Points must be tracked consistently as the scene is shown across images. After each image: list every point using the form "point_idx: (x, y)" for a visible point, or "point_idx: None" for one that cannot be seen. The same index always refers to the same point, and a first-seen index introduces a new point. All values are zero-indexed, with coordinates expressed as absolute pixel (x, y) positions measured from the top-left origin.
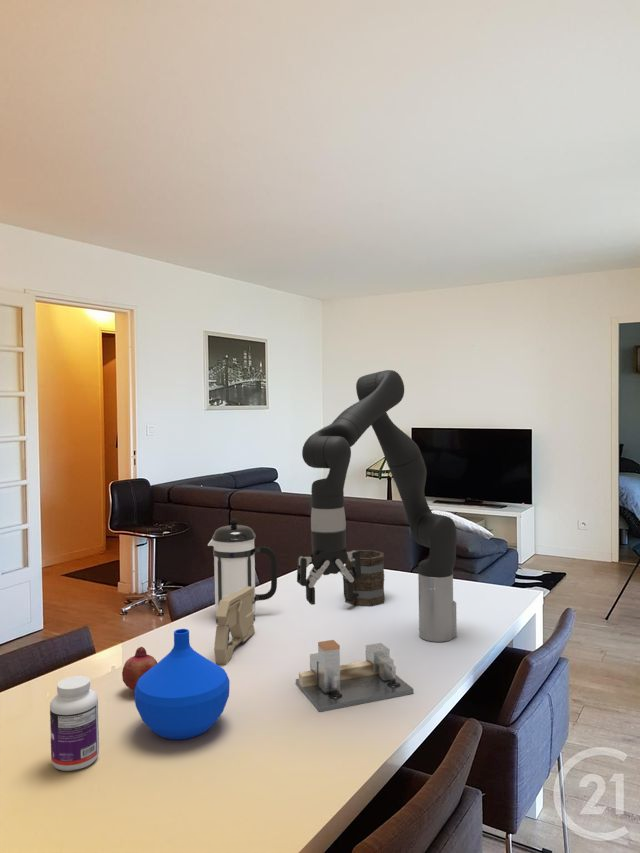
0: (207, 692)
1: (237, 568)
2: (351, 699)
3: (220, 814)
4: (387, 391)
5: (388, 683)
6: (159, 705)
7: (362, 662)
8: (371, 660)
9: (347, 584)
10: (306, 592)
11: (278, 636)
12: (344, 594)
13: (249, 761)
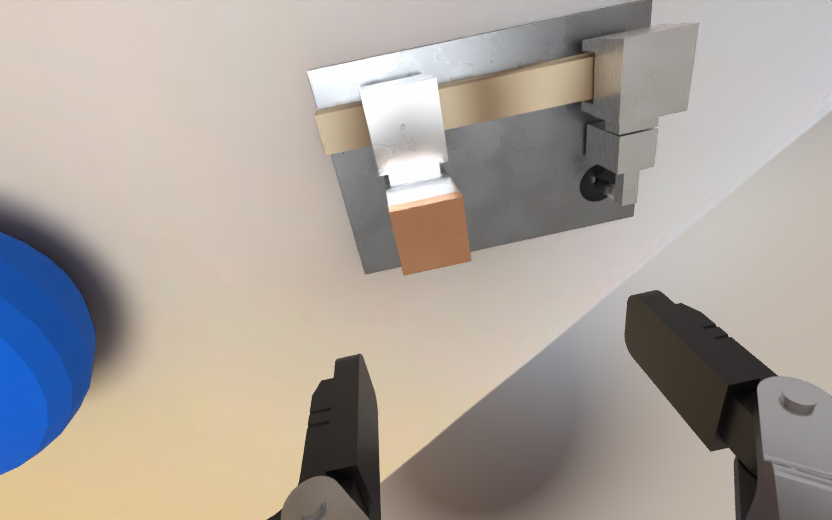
0: (21, 464)
1: None
2: None
3: (189, 511)
4: None
5: (589, 172)
6: None
7: (567, 71)
8: (597, 96)
9: (701, 426)
10: (309, 446)
11: None
12: (640, 302)
13: (211, 418)
